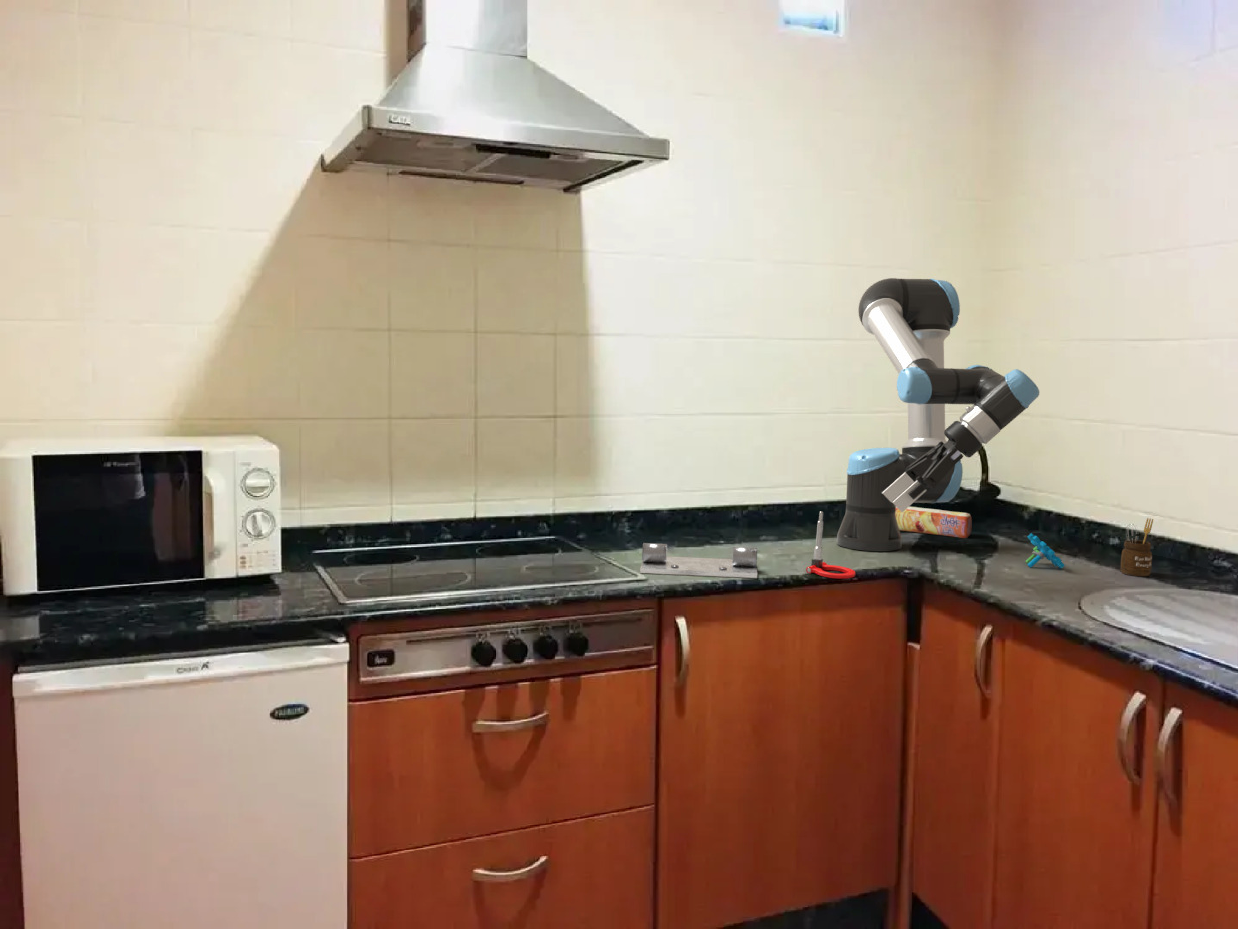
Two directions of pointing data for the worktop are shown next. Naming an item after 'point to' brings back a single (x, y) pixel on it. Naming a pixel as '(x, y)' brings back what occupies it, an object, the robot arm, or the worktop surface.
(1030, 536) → the gear
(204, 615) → the worktop surface
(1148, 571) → the utensil holder
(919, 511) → the snack package
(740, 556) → the hinge leaf
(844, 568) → the tow hook
